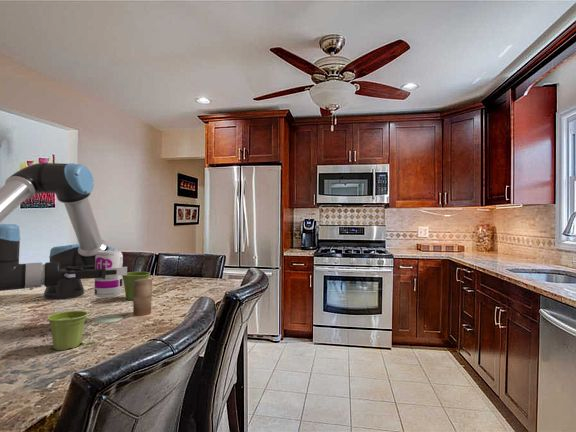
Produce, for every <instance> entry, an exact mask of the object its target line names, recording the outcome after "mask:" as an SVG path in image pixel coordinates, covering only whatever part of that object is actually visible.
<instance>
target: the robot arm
mask: <svg viewBox="0 0 576 432" xmlns="http://www.w3.org/2000/svg"><path fill="white" fill-rule="evenodd" d="M94 187H95V185H94V177H93V173H92V172H91V170H90V169H89V168H88V167H87V166H86V165H83V164H77V163H63V162H62V163H59V162H58V163H55V162H38V163H34V164H31V165H29V166H26V167H25V166H24V168H21V169H20V170H18V171H16V172H14V173H13V174H11V175H10V176H9V177H8V178H6V179H5V182H4V185H3V186H1V187H0V292H4V291H14V290H21V289H22V290H23V289H24V290H25V289H29V291H32V290H34V288H35V289H36V288H41V287H42V286H44V287H45V289H44V291H43V298H44V299H46V300H47V299H48V300H63V299H71V298H75V297H80V296H83V295H84V294H85V289H84V285H83V282H82V280H85V279H86V280H87V279H90V280H91V279H95V278H103V279H105V277H108V276H120V275H127V272H128V266H123V267H115V268H105V269H95V256H96V255H97V253H98V251H116V249H115V248H114V247H113V246H108V242H107V241H106V240H104V239H102V237H101V233H100V231H99V227H98V224H97V221H96V219H95V215H94V212H93V208H92V206H91V202H90V199H89V198H90V196H91V193H92V192H93V190H94ZM39 194H55V196H56V198H57V201H58V202H60V203H63V204H64V207H65V210H66V212H67V214H68V218H69V220H70V222H71V225H72V228H73V230H74V232H75V236H76V239H77V241H78V243H77V244H76V243H75V244H67V245H58V246H53V247H52V248H50V251H49V262H48V261H47V262H45V263H44V264H43V263H42V262H28V263H20V247H21V246H20V241H21V235H20V226H19V225H18V224H13V223H10V224H9V223H1V222H3V220H5V219H6V218H7V217H8V216H9V215H10V214H11V213H12V212H14V211H15V209H16V208H18V207H19V206H20V205H21V204H22V203H23V202H25V200H28V199H32V198H33V197H35V195H39Z"/></svg>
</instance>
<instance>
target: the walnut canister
mask: <svg viewBox="0 0 576 432" xmlns="http://www.w3.org/2000/svg"><path fill="white" fill-rule="evenodd" d="M152 292H153V280H152V279H150V278H148V279H138V280H134V299H133V300H132V301H133V305H132V306H133V307H132V308H133V310H132V312H133V315H135V316H145V315H149V314H151V310H152V296H153V295H152V294H153V293H152Z"/></svg>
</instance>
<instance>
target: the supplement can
mask: <svg viewBox="0 0 576 432" xmlns="http://www.w3.org/2000/svg"><path fill="white" fill-rule="evenodd" d="M123 262H124V255H123V252H122V251H121V250H115V251H98V253H97V255H96V256H95V269H105V268H115V267H124V266H123ZM93 292H94V295H95V296H96V297H97V298H101V299H102V298H113V297H118V296H119V295H121V294H122V293H123V276H122V275H120V276H108V277H105V279H103V278H94V291H93Z"/></svg>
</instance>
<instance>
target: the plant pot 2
mask: <svg viewBox="0 0 576 432" xmlns="http://www.w3.org/2000/svg"><path fill="white" fill-rule="evenodd" d="M150 275H151V272H149V271H148V272H147V271H129V272H128V271H127V275H122V282H123V285H124V291H125V292H124V294H125V299H126V300H127V301H133V299H134V280H138V279H150V278H149V276H150Z"/></svg>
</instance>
